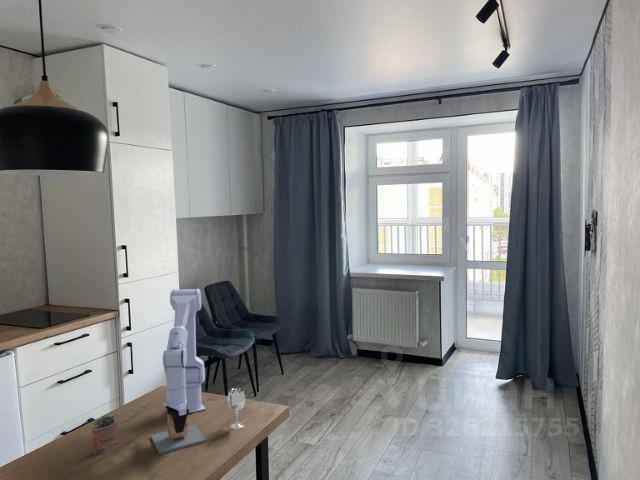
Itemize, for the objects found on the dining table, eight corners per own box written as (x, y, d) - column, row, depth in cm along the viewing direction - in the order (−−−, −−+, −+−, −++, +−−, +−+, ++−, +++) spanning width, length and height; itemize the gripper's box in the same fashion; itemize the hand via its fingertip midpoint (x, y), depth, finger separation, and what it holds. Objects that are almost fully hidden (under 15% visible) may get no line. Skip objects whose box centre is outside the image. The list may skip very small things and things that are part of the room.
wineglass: (242, 430, 156) (241, 394, 156) (225, 429, 158) (224, 393, 157) (248, 422, 162) (247, 388, 161) (232, 421, 163) (231, 386, 162)
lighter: (115, 441, 150) (113, 410, 150) (121, 444, 148) (120, 413, 148) (90, 452, 144) (88, 420, 143) (96, 456, 142) (95, 423, 141)
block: (168, 433, 151) (167, 415, 151) (184, 429, 154) (183, 411, 153) (171, 439, 148) (170, 420, 148) (187, 434, 150) (186, 416, 150)
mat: (150, 437, 153) (150, 435, 153) (195, 426, 160) (194, 424, 160) (159, 454, 142) (159, 451, 142) (206, 441, 149) (205, 439, 149)
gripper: (157, 382, 154) (159, 423, 155) (168, 397, 142) (170, 442, 143) (180, 377, 158) (181, 418, 159) (192, 392, 145) (194, 436, 146)
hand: (177, 429), depth 151 cm, fingers closed on block, 4 cm apart
